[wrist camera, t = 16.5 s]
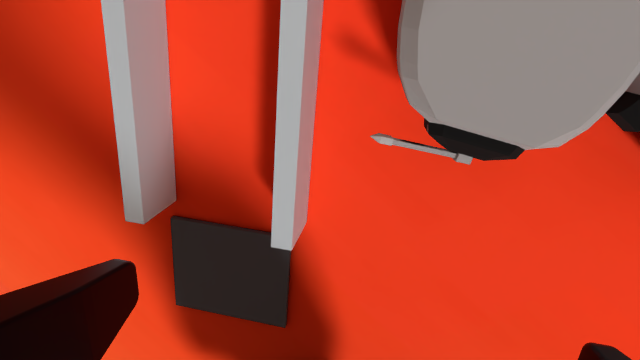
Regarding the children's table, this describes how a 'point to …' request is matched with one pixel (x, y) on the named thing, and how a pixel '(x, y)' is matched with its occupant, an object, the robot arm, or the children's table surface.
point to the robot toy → (517, 72)
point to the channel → (156, 116)
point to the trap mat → (230, 271)
